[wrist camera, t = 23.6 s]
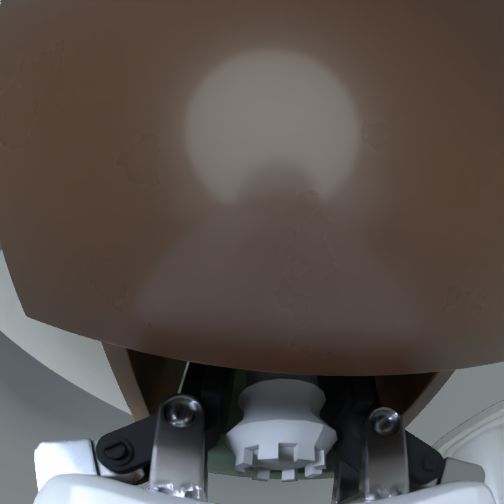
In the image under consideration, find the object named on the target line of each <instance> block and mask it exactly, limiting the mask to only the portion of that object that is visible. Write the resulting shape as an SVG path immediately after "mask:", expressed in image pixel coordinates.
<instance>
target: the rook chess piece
mask: <svg viewBox="0 0 504 504" xmlns="http://www.w3.org/2000/svg"><path fill="white" fill-rule="evenodd" d="M246 372H247V384H246V388H245V389H244V391H243V392H242V393H241V394H240V395H239V398H238V405H239V406H240V408H241V409H242V410H243V412H244V417H243V420H242V421H241V422H240V423H238V424H237V425H236V426H235V427H234V428H233V429H232V430H230V431H229V432H228V433H227V434H226V435H225V443H226V444H227V446H228V447H229V449H230V450H231V451H232V453H233V454H234V455H235V457H236V462H235V472H236V473H238V474H239V475H241V476H244V475H249V474H250V466H251V467H253V473H252V479H253V480H259V481H265V482H266V481H268V480H269V475H270V470H282V482H291V481H298V469H299V468H303V467H305V477H309V478H313V477H315V476H318V475H320V474H322V469H327V467H326V454H327V453H328V452H329V450H330V449H331V448H332V446H333V445H334V444H335V442H336V441H337V435H336V431H335V430H334V429H333V428H331V427H330V426H329V425H328V424H327V423H326V422H325V421H323V420H322V419H321V418H320V416H319V415H320V410H321V409H322V407H323V405H324V403H325V401H326V398H325V395H324V392H323V391H322V390H321V389H320V388H318V378H317V375H301V374H286V373H273V372H262V371H252V370H246Z"/></svg>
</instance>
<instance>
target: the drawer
mask: <svg viewBox="0 0 504 504" xmlns="http://www.w3.org/2000/svg"><path fill="white" fill-rule="evenodd" d="M102 345H103V348H104V351H105V353H106V356H107V359H108V361H109V364H110V366H111V369H112V371H113V373H114V376H115V378H116V381H117V383H118V385H119V387H120V390H121V392H122V394H123V396H124V398H125V401H126V403H127V405H128V407H129V409H130V411H131V413H132V415H133V417H134V419H135V421H136V422H137V421H139V420H142V419H144V418H146V417H148V416H151V415H153V414H155V413H157V412H158V410H159V407H160V404H161V402H162V401H163V400H164V399H165V398H167V397H168V396H170V395H173V394H177V393H180V392H181V389H182V386H183V382H184V379H185V376H186V372H187V369H188V366H189V361H184V360H178V359H173V358H168V357H163V356H158V355H154V354H149V353H145V352H140V351H136V350H132V349H128V348H124V347H120V346H116V345H112V344H109V343H105V342H102ZM455 370H456V369H455ZM455 370H447V371H439V372H429V373H417V374H402V375H380V376H374V378H375V382H376V386H377V390H378V394H379V398H380V402H381V406H382V405H386V406H391V407H393V408H395V409H396V410H397V411H399V412H400V414H401V415H402V417H403V420H404V426H405V427H406V426H408V425H409V424H410V423H411V422H412V420H413V419H414V418H415V417H416V416H417V415H418V414H419V413H420V412H421V411H422V410H423V409H424V408H425V406H426V405H427V404H428V403H429V402H430V401H431V400H432V398H433V397H434V396H435V395H436V394H437V393H438V391H439V390H440V389H441V387H442V386H443V385H444V384H445V383H446V381H447V380H448V379H449V378H450V376H451V375H452V374H453V372H454V371H455ZM246 384H247V372H246V370H244V369H236V373H235V380H234V387H233V393H232V400H231V406H230V413H229V420H228V426H227V433H228V432H229V431H230V430H232V429H233V428H234V427H235V426H236V425H237V424H238V423H240V422H241V421H242V420H243V417H244V412H243V410H242V409H241V408H240V406H239V405H238V398H239V395H240V394H241V393H242V392H243V391H244V389H245V388H246ZM227 433H226V434H227ZM226 434H221V435H220V440H218V444H217V446H216V447H214V448H212V449H211V450H209V451H208V472H210V473H215V474H223V475H231V476H239V477H251V478H252V473H253V467H251V466H250V474H249V475H244V476H241V475H239V474H238V473H236V472H235V462H236V457H235V455H234V454H233V453H232V451H231V450H230V449H229V447H228V446H227V444H226V443H225V435H226ZM335 461H336V454H335V453H334V452H333V449H332V448H331V449H330V450H329V452H328V453H327V454H326V467H327V469H322V474H320V475H318V476H315V477H313V478H309V477H305V467H303V468H299V469H298V479H326V478H334V473H335ZM269 479H282V470H270V475H269Z"/></svg>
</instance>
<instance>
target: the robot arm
mask: <svg viewBox="0 0 504 504" xmlns="http://www.w3.org/2000/svg"><path fill="white" fill-rule="evenodd" d="M235 373H236V369H235V368H228V367H221V366H214V365H207V364H201V363H195V362H189V366H188V369H187V372H186V376H185V379H184V382H183V386H182V389H181V392H180V393H177V394H173V395H170V396H168V397H167V398H165V399H164V400H163V401H162V402H161V404H160V407H159V410H158V412H157V413H155V414H153V415H151V416H148V417H146V418H144V419H142V420H139V421H137V422H135V423H132V424H130V425H128V426H126V427H123V428H121V429H118V430H115V431H113V432H111V433H108V434H106V435H104V436H102V437H101V438H100V439H99V440H93V441H92V440H91V439H79V440H66V441H46V442H42V443H41V444H39V445H38V446H37V448H36V449H35V466H36V475H37V482H38V489H39V492H38V494H37V496H36V498H35V500H34V503H33V504H216V503H210V502H208V451H209V450H211V449H212V448H214V447H216V446H217V444H218V440H220V435H221V434H226V433H227V426H228V420H229V413H230V406H231V400H232V393H233V387H234V380H235ZM317 378H318V388H320V389H321V390H322V391H323V392H324V395H325V398H326V401H325V403H324V405H323V407H322V409H321V410H320V415H319V416H320V418H321V419H322V420H323V421H325V422H326V423H327V424H328V425H329V426H330V427H331V428H333V429H334V430H335V431H336V435H337V441H336V442H335V444H334V445H333V446H332V449H333V452H334V453H335V454H336V461H335V473H334V484H333V493H332V502H331V504H504V429H503V428H504V416H502V417H499V418H496V419H494V420H492V421H490V422H488V423H486V424H484V425H483V426H481V427H479V428H477V429H476V430H474V431H473V432H471V433H469V434H468V435H466V436H465V437H463V438H462V439H460V440H459V441H458V442H456V443H455V444H454V445H452V446H451V447H450V448H449V449H448V450H447V451H446V452H445V454H444V456H445V458H443V457H442V455H441V454H440V453H439V452H438V451H437V450H436V449H434V448H432V447H431V446H429V445H428V444H426V443H425V442H423V441H422V440H420V439H418V438H417V437H415V436H414V435H412V434H411V433H409V432H408V431H406V430H405V426H404V420H403V417H402V415H401V414H400V412H399V411H397V410H396V409H395V408H393V407H391V406H386V405H382V406H381V402H380V398H379V394H378V390H377V386H376V382H375V378H374V376H324V375H317ZM147 481H149V485H148V489H145V488H142V487H138V486H134V485H140V484H143V483H145V482H147Z"/></svg>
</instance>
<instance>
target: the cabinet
mask: <svg viewBox="0 0 504 504" xmlns="http://www.w3.org/2000/svg"><path fill="white" fill-rule="evenodd" d="M0 243H1V247H2V251H3V254H4V257H5V261H6V264H7V267H8V270H9V273H10V276H11V279H12V282H13V285H14V287H15V290H16V293H17V295H18V298H19V300H20V303H21V305H22V308H23V310H24V312H25V315H26V316H27V317H30V318H32V319H35V320H37V321H40V322H43V323H45V324H48V325H51V326H54V327H57V328H60V329H63V330H66V331H69V332H72V333H75V334H78V335H81V336H84V337H88V338H91V339H94V340H98V341H101V342H105V343H109V344H112V345H116V346H120V347H124V348H128V349H132V350H136V351H140V352H145V353H149V354H154V355H158V356H163V357H168V358H173V359H178V360H184V361H189V362H195V363H201V364H207V365H214V366H221V367H228V368H235V369H244V370H252V371H262V372H273V373H286V374H301V375H324V376H380V375H402V374H417V373H429V372H439V371H447V370H455V369H462V368H469V367H475V366H482V365H488V364H493V363H498V362H503V361H504V0H2V1H1V4H0Z"/></svg>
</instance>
